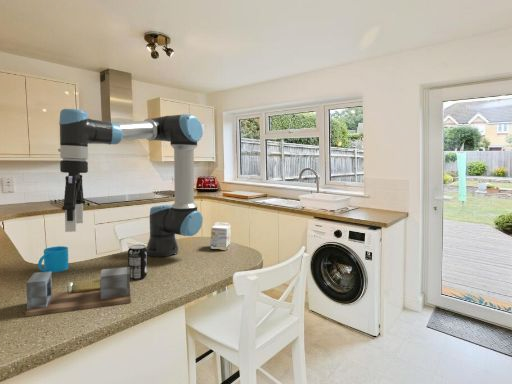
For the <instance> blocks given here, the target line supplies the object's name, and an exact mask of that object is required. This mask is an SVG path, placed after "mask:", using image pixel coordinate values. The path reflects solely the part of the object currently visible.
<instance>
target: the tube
mask: <svg viewBox="0 0 512 384" xmlns="http://www.w3.org/2000/svg"><path fill="white" fill-rule="evenodd" d="M93 291H101V281H100V278H97V279H96V278H95V279H84V280H75V281H68V282H67V291H66V292H68V294H76V293H84V292H93Z"/></svg>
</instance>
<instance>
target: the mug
mask: <svg viewBox="0 0 512 384" xmlns="http://www.w3.org/2000/svg"><path fill="white" fill-rule="evenodd" d="M42 263H43V267H42ZM37 268H38V269H39V271H40V272H50V271H52V273H59V272H65V271H66V270H68V269H69V247H67V246H64V245H63V246H62V245H60V246H59V245H58V246H50V247H47V248H44V249H43V255H42V256H41V257H40V258H39V259H38V263H37Z"/></svg>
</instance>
